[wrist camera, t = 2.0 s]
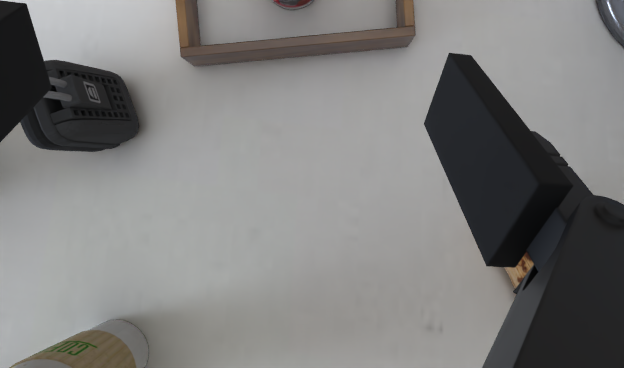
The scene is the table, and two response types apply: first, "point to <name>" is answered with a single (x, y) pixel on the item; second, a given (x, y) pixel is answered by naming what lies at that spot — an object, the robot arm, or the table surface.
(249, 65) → the table surface
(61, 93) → the headphones
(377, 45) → the wooden frame
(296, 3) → the pill bottle
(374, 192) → the table surface
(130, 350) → the coffee cup
